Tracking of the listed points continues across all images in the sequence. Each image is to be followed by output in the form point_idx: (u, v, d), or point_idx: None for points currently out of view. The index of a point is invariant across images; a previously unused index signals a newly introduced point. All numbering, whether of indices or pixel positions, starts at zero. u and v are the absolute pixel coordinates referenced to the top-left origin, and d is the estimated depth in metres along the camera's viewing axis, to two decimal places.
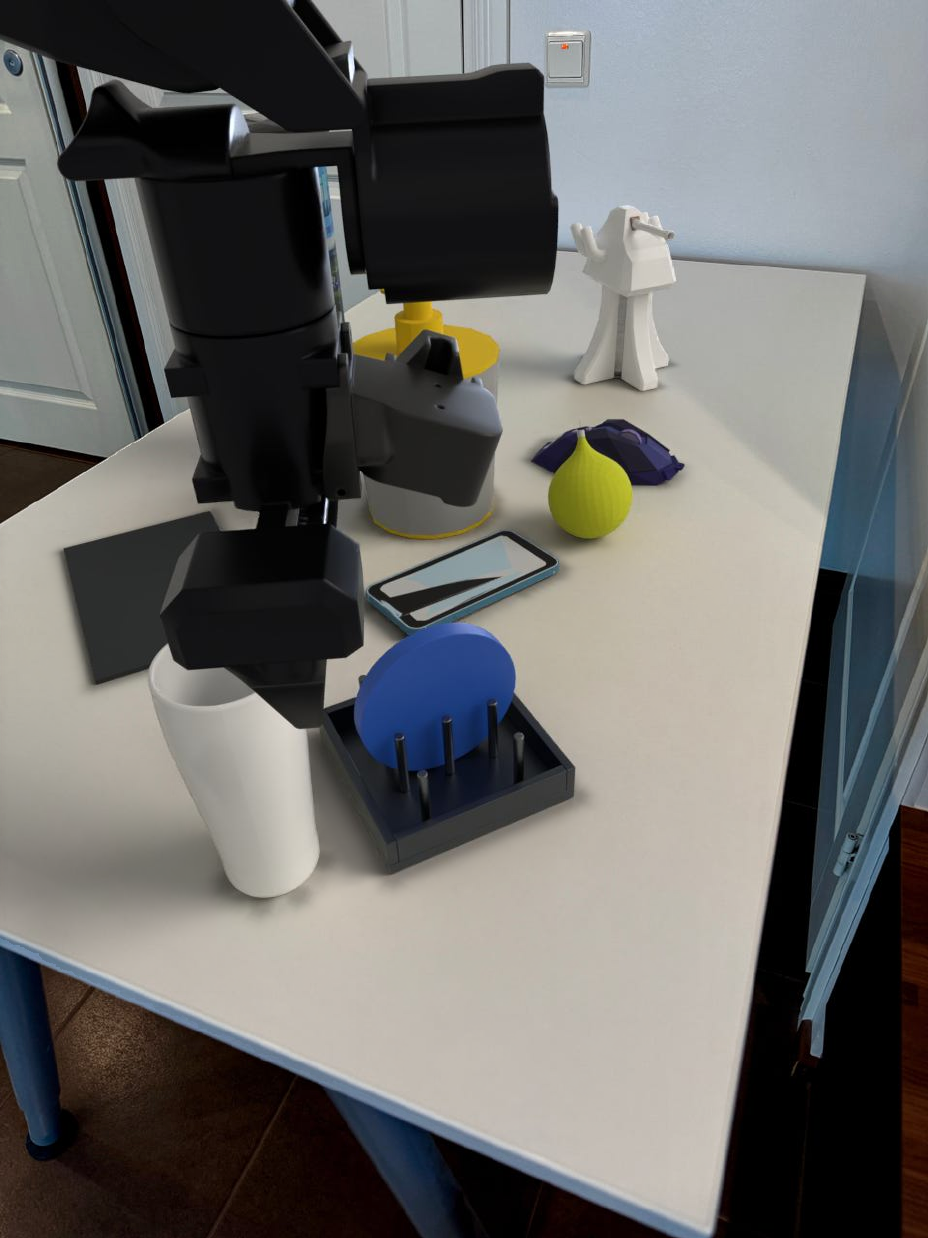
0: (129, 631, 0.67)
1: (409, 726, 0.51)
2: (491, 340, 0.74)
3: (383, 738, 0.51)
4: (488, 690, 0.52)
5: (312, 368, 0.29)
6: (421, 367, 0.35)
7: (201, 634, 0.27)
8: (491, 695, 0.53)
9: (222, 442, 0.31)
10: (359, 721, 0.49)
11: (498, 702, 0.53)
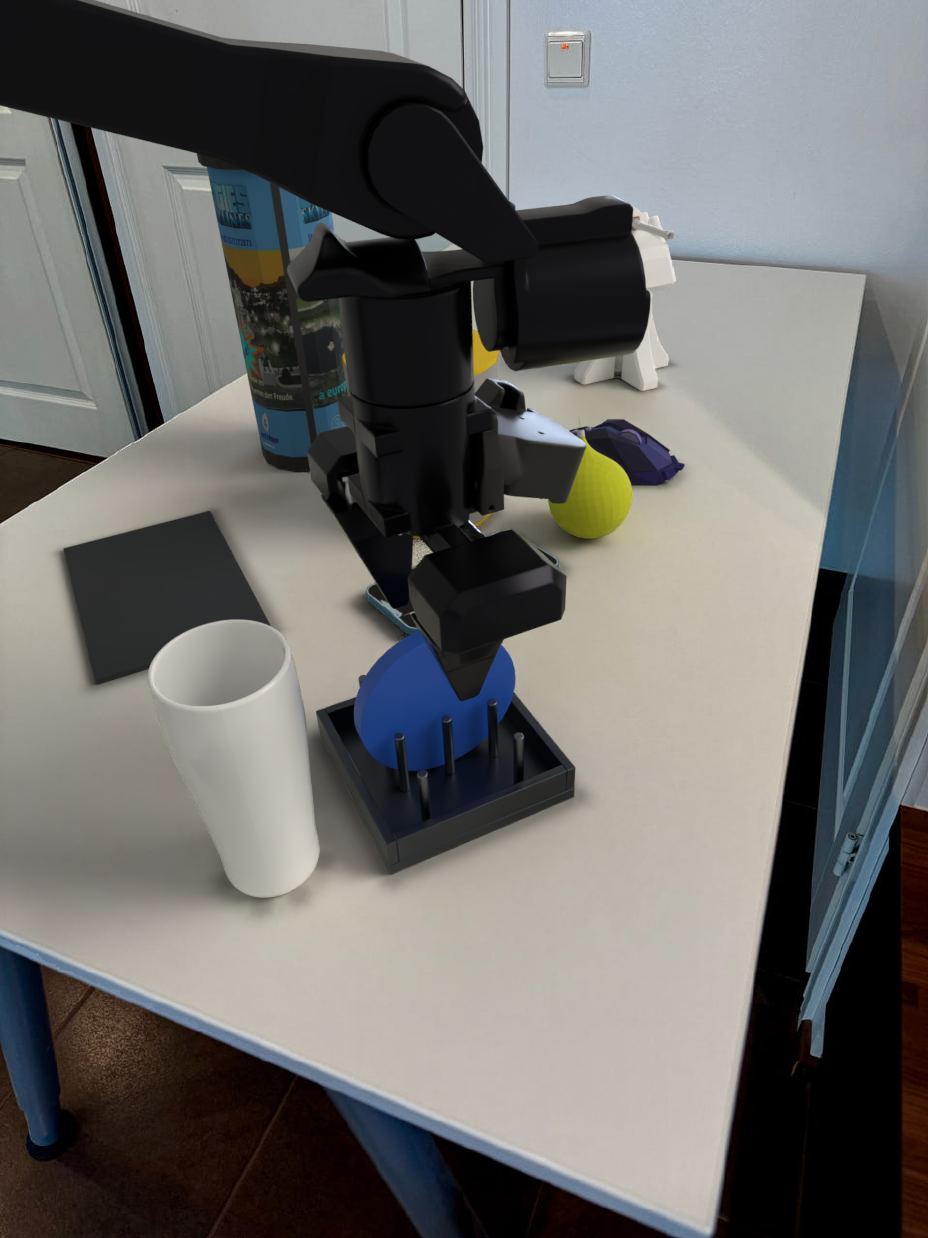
0: (129, 631, 0.67)
1: (409, 726, 0.51)
2: None
3: (383, 738, 0.51)
4: (488, 690, 0.52)
5: (475, 419, 0.40)
6: (498, 406, 0.46)
7: (473, 623, 0.37)
8: (490, 695, 0.53)
9: (409, 486, 0.40)
10: (359, 721, 0.49)
11: (498, 702, 0.53)
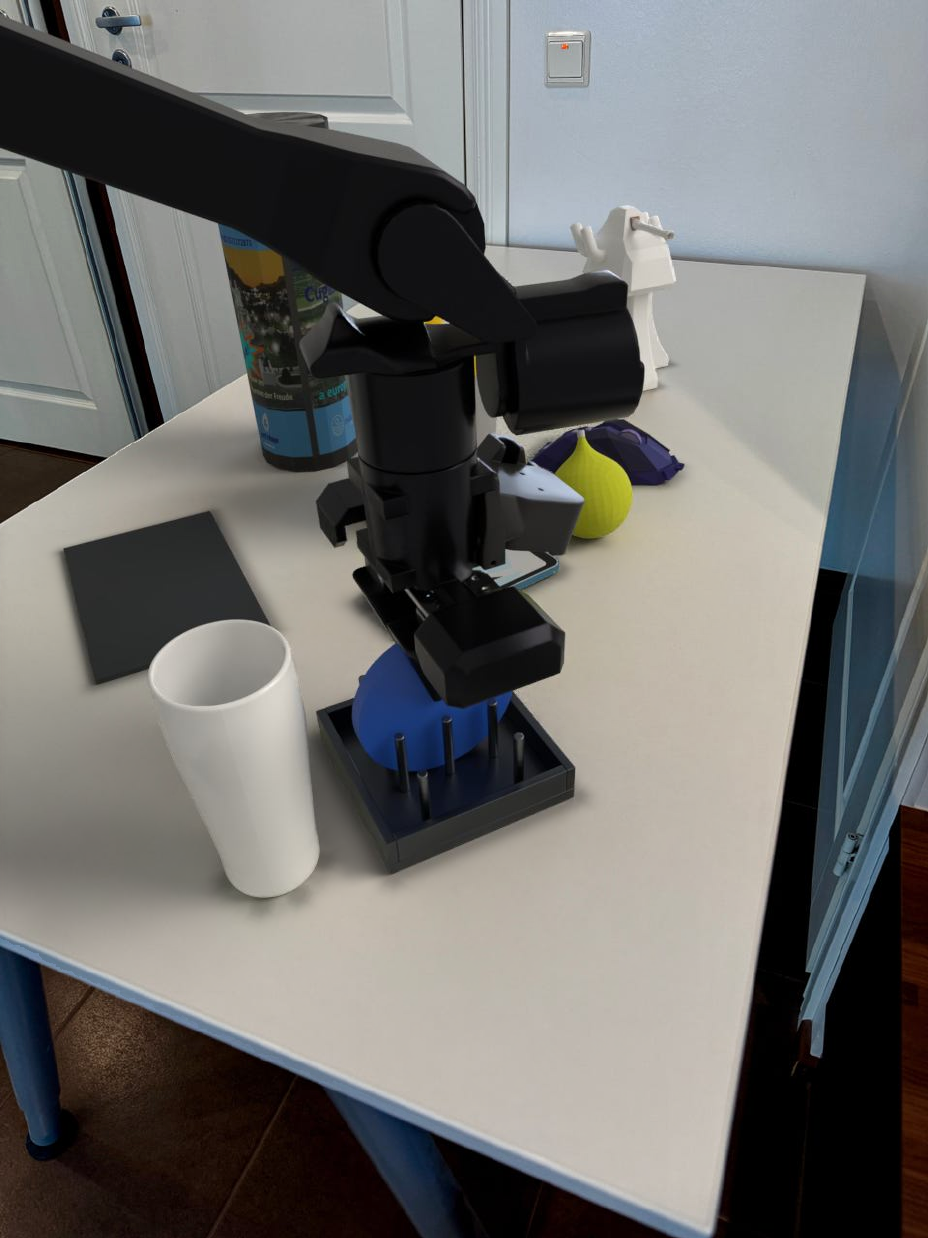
0: (129, 631, 0.67)
1: (407, 727, 0.51)
2: None
3: (381, 740, 0.51)
4: None
5: (478, 481, 0.42)
6: (500, 461, 0.47)
7: (476, 680, 0.39)
8: None
9: (414, 545, 0.42)
10: (357, 724, 0.49)
11: (497, 701, 0.53)
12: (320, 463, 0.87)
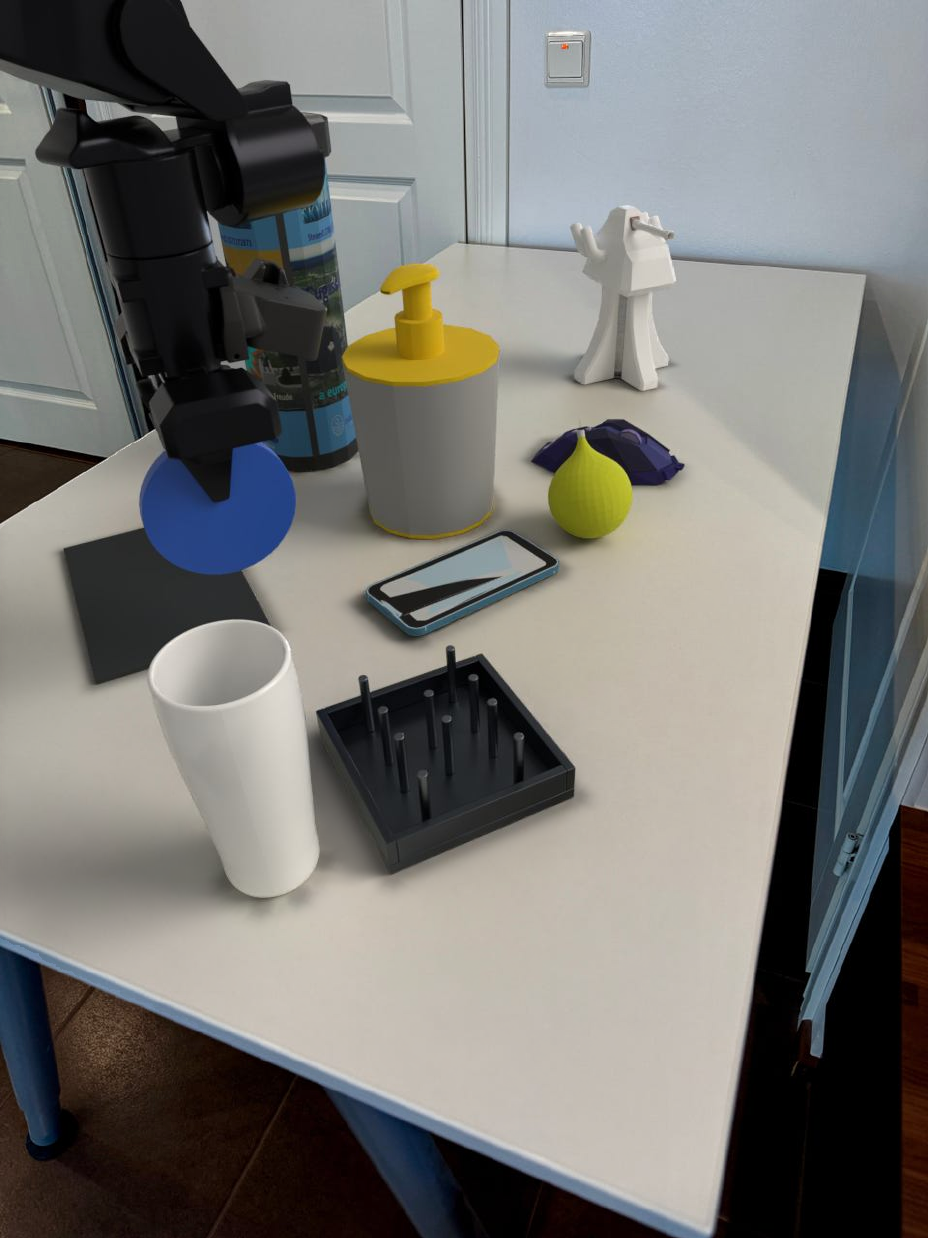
0: (129, 631, 0.67)
1: (192, 527, 0.57)
2: (491, 340, 0.74)
3: (168, 536, 0.57)
4: (268, 498, 0.59)
5: (210, 274, 0.48)
6: (261, 280, 0.54)
7: (188, 431, 0.45)
8: (272, 504, 0.59)
9: (156, 331, 0.48)
10: (141, 517, 0.56)
11: (281, 512, 0.60)
12: (320, 463, 0.87)
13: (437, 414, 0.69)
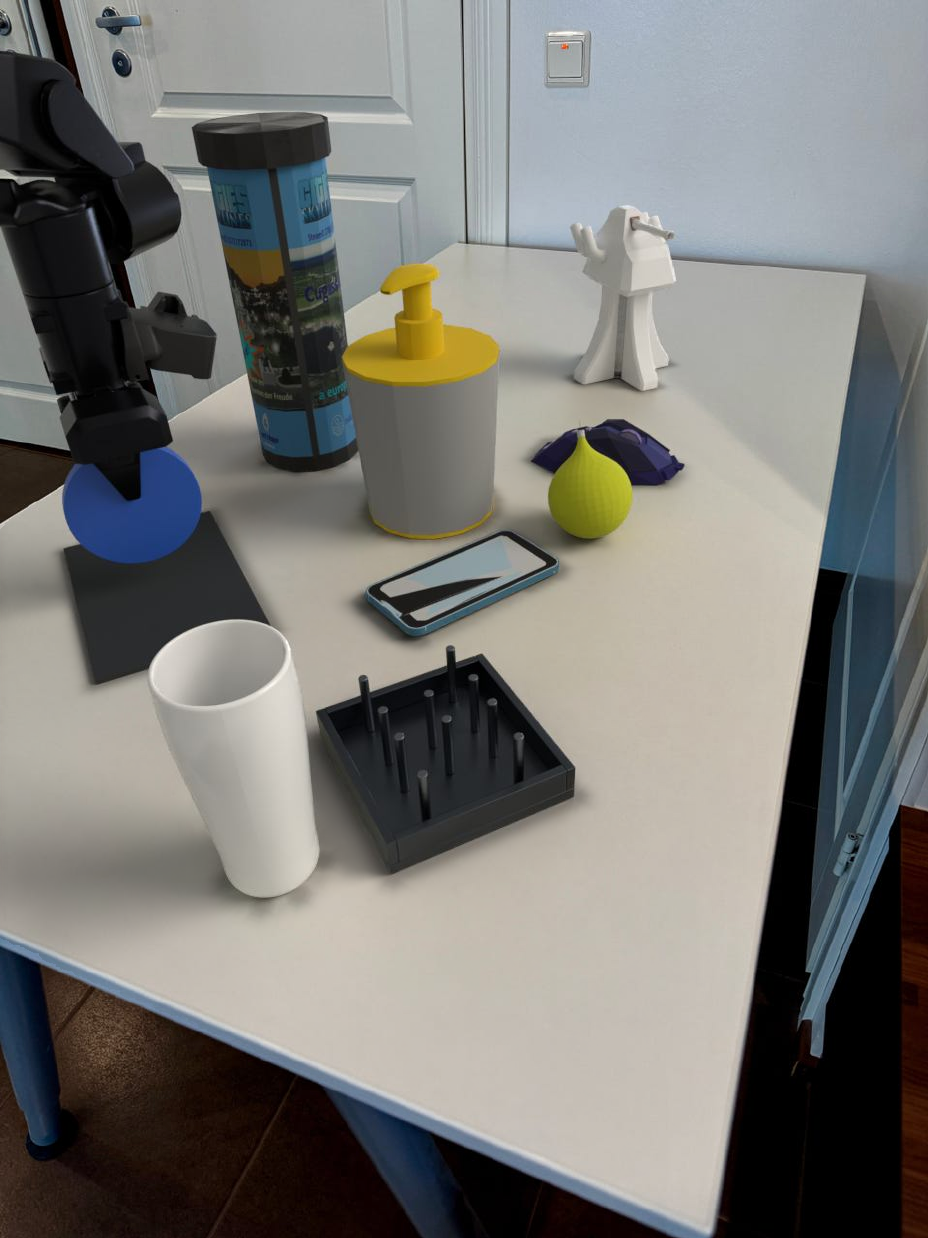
0: (129, 631, 0.67)
1: (110, 522, 0.67)
2: (491, 340, 0.74)
3: (88, 530, 0.66)
4: (176, 497, 0.68)
5: (111, 309, 0.57)
6: (162, 311, 0.63)
7: (90, 441, 0.54)
8: (180, 502, 0.68)
9: (66, 356, 0.57)
10: (64, 514, 0.65)
11: (189, 509, 0.69)
12: (320, 463, 0.87)
13: (437, 414, 0.69)
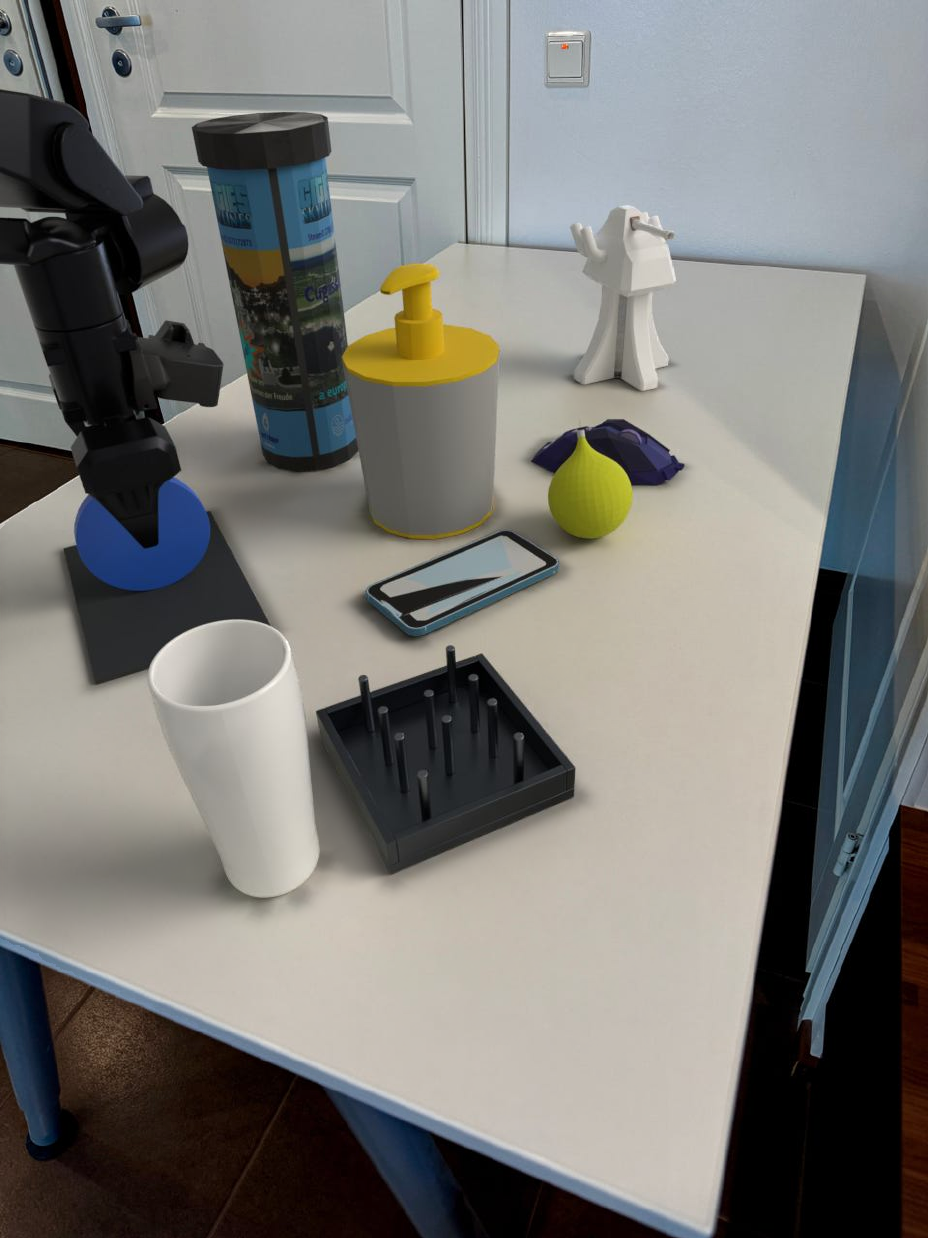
0: (129, 631, 0.67)
1: (120, 551, 0.68)
2: (491, 340, 0.74)
3: (99, 559, 0.68)
4: (185, 527, 0.70)
5: (121, 341, 0.58)
6: (170, 340, 0.64)
7: (101, 472, 0.56)
8: (189, 531, 0.70)
9: (77, 387, 0.59)
10: (76, 544, 0.67)
11: (197, 538, 0.71)
12: (320, 463, 0.87)
13: (437, 414, 0.69)
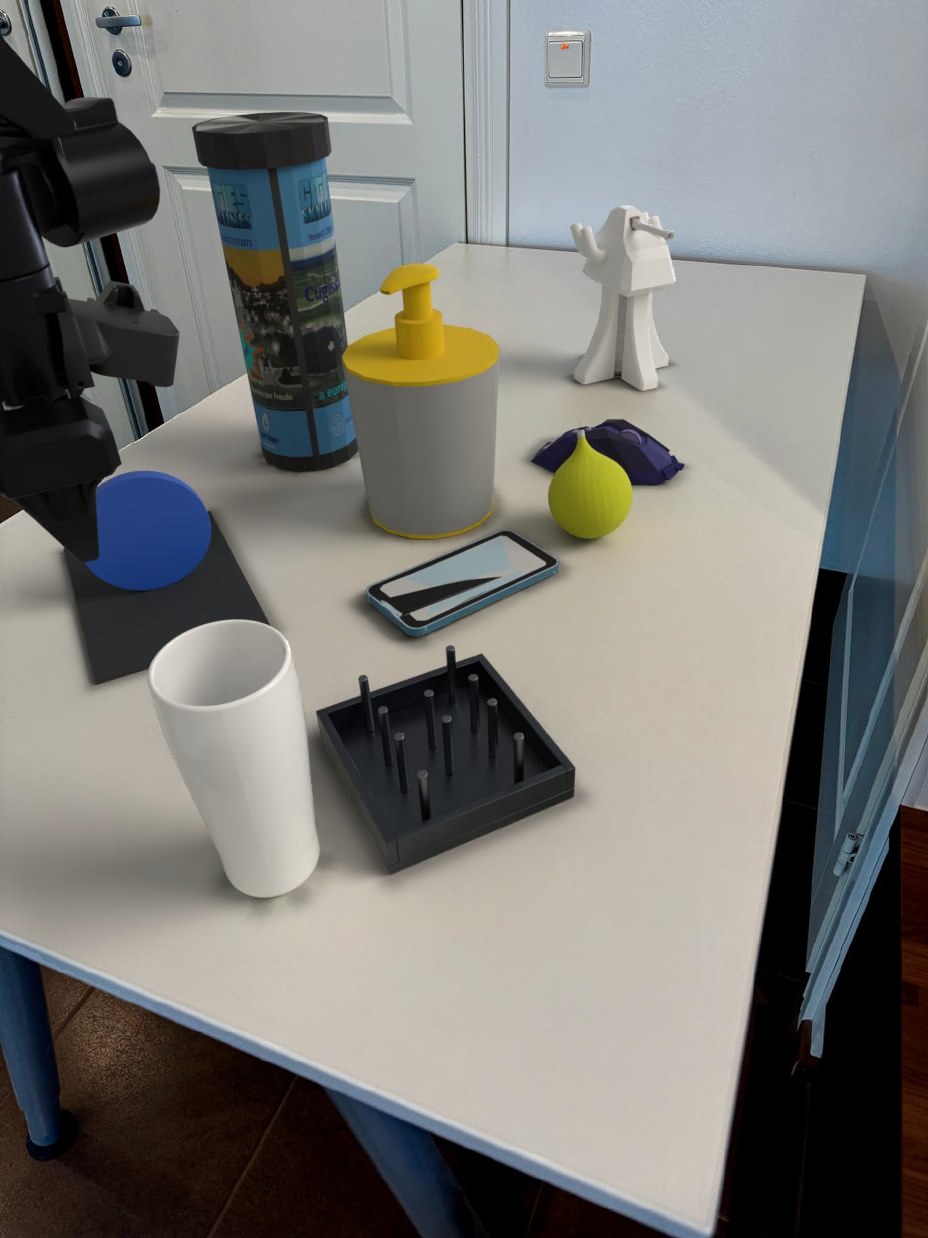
0: (129, 631, 0.67)
1: (121, 551, 0.68)
2: (491, 340, 0.74)
3: (100, 558, 0.68)
4: (186, 527, 0.70)
5: (45, 300, 0.46)
6: (114, 304, 0.52)
7: (14, 465, 0.43)
8: (190, 532, 0.70)
9: None
10: None
11: (198, 538, 0.71)
12: (320, 463, 0.87)
13: (437, 414, 0.69)
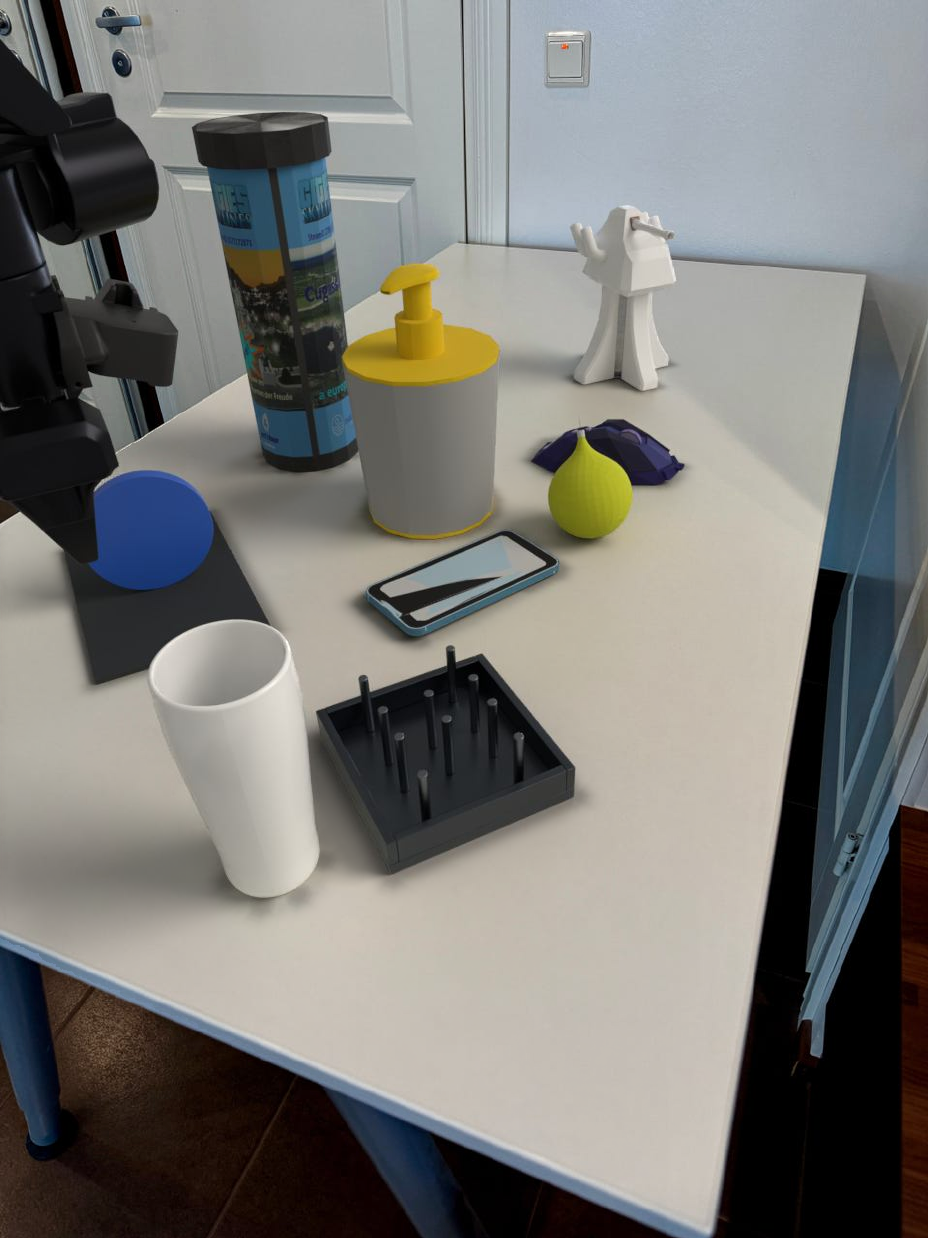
0: (129, 631, 0.67)
1: (123, 549, 0.68)
2: (491, 340, 0.74)
3: (101, 556, 0.68)
4: (189, 527, 0.70)
5: (41, 299, 0.45)
6: (112, 302, 0.51)
7: (9, 468, 0.42)
8: (192, 532, 0.70)
9: None
10: None
11: (200, 539, 0.71)
12: (320, 463, 0.87)
13: (437, 414, 0.69)
